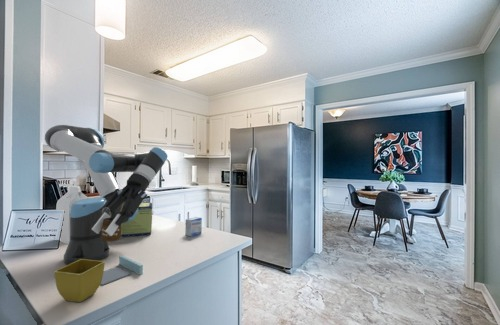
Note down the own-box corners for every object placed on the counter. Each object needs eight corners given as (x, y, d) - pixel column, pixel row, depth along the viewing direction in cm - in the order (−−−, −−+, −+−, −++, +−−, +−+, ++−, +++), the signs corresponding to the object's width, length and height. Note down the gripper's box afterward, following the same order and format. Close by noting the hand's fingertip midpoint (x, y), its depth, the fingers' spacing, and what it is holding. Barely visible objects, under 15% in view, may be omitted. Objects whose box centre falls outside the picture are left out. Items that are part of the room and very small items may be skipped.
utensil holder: (102, 237, 82) (104, 202, 82) (123, 235, 84) (124, 202, 84) (99, 243, 76) (100, 206, 76) (121, 241, 79) (122, 205, 79)
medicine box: (190, 236, 124) (191, 220, 124) (185, 235, 126) (185, 219, 126) (201, 233, 130) (202, 217, 130) (196, 231, 133) (196, 216, 133)
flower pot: (52, 303, 64) (52, 271, 64) (80, 287, 73) (81, 258, 73) (79, 308, 63) (80, 274, 63) (105, 290, 71) (106, 261, 71)
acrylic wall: (119, 264, 90) (119, 256, 90) (121, 263, 91) (122, 255, 91) (139, 274, 82) (140, 265, 82) (142, 273, 83) (142, 264, 83)
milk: (93, 237, 120) (94, 186, 120) (68, 243, 110) (69, 188, 110) (79, 233, 125) (80, 184, 125) (53, 239, 115) (54, 186, 115)
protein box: (151, 235, 125) (152, 205, 125) (118, 237, 120) (119, 207, 120) (151, 229, 135) (152, 202, 135) (121, 232, 129) (121, 203, 129)
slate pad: (89, 277, 79) (89, 276, 79) (117, 267, 87) (117, 266, 87) (102, 285, 74) (102, 284, 74) (130, 274, 82) (130, 273, 82)
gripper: (164, 186, 92) (129, 241, 76) (128, 184, 98) (89, 234, 82) (155, 173, 87) (116, 229, 71) (117, 171, 93) (73, 223, 77)
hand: (101, 232), depth 77 cm, fingers closed on utensil holder, 5 cm apart
